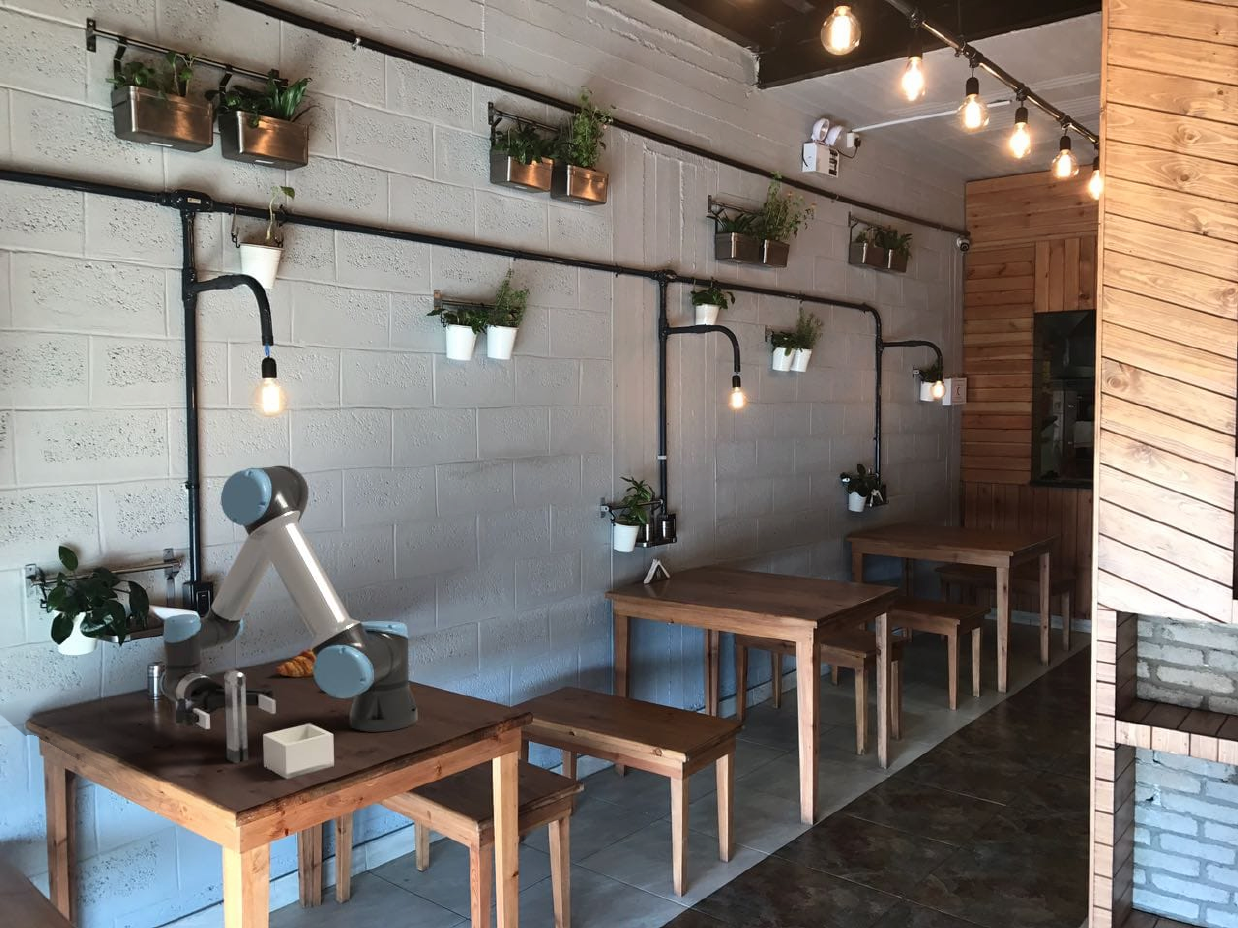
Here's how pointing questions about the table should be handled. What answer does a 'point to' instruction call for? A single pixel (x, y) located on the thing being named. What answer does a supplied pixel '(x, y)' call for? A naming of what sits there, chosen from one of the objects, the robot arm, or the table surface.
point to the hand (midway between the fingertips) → (241, 714)
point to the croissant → (299, 665)
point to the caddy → (298, 750)
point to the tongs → (236, 716)
